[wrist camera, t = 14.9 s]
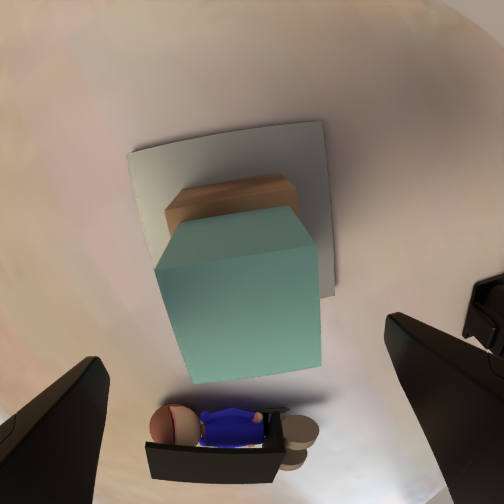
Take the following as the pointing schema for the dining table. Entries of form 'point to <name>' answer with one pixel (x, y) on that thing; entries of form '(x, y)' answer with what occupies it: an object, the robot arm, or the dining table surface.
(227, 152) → the base plate
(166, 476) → the figurine character
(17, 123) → the dining table surface
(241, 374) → the teal block
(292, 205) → the walnut block
